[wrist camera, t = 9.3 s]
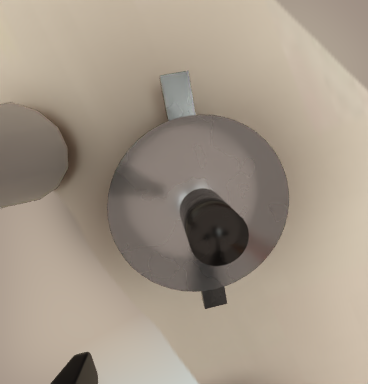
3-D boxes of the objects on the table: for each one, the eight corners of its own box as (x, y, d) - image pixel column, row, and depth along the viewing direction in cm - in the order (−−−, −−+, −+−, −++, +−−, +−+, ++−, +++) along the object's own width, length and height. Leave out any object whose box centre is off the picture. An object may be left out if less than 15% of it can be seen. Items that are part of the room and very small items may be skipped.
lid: (288, 263, 17) (339, 312, 13) (133, 300, 16) (125, 367, 12) (274, 99, 15) (330, 85, 10) (87, 135, 14) (55, 137, 9)
